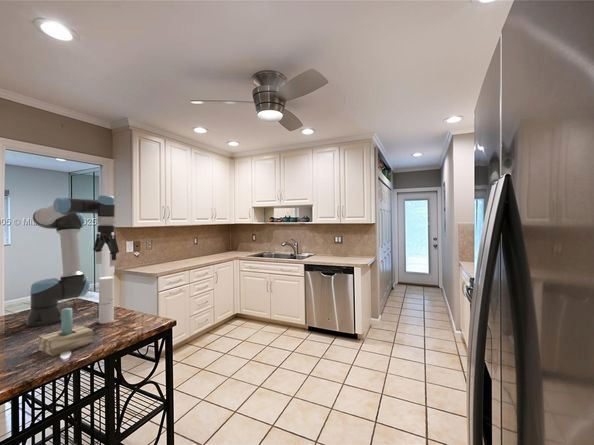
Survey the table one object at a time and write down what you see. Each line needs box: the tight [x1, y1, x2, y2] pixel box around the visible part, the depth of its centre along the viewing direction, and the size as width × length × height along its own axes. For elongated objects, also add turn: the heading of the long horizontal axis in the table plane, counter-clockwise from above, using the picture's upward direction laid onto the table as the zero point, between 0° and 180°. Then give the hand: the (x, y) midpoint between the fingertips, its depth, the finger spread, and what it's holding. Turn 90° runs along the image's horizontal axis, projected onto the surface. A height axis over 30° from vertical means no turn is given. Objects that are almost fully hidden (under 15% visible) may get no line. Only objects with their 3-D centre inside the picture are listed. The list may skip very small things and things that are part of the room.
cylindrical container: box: [98, 276, 115, 324], centre depth 167 cm, size 7×7×25 cm
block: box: [38, 324, 94, 357], centre depth 134 cm, size 12×16×6 cm
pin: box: [60, 307, 73, 336], centre depth 134 cm, size 4×4×14 cm
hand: (105, 265), depth 154 cm, fingers open, 13 cm apart
